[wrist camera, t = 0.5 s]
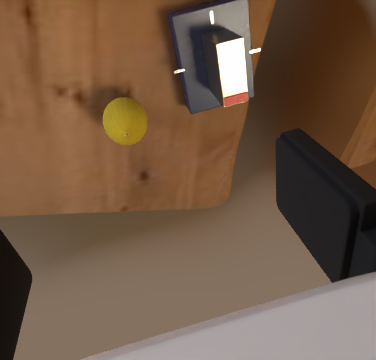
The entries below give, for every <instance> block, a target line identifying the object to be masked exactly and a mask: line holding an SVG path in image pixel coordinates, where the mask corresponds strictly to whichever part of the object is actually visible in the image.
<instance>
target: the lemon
mask: <svg viewBox="0 0 376 360" xmlns="http://www.w3.org/2000/svg"><path fill="white" fill-rule="evenodd" d="M147 124H148V120H147V114H146V112H145V110H144V108H143V107H142V105H141V104H140V103H138V102H137V101H136V100H134V99H132V98H128V97H120V98H117V99H114V100H113V101H111V102H110V103H109V104H108V105H107V107H106V109H105V110H104V114H103V126H104V129H105V131H106V133H107V135H108V136H109V137H110V138H111V139H112V140H113V141H114V142H116V143H118V144H121V145H132V144H134V143H137V142H138V141H139V140H141V139H142V137H143V136H144V135H145V132H146V130H147Z"/></svg>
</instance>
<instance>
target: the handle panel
mask: <svg viewBox="0 0 376 360" xmlns="http://www.w3.org/2000/svg"><path fill="white" fill-rule="evenodd" d="M167 14H168V19H169V24H170V29H171V34H172V39H173V43H174V48H175V53H176V58H177V63H178V68H179V69H178V70H175V71H173V72H174V74H176V73H180V78H181V82H182V87H183V92H184V97H185V102H186V106H187V108H188V110H189V111H190V113H191V114H194V113H197V112H201V111H204V110H208V109H212V108H215V107H219V106H222V105H221V103H220V102H219V101H218V100H217V99H216V97H215V96H214V95H213V94H212V93H211V91H210V88H209V82H208V75H207V68H206V62H205V55H204V49H203V42H202V36H201V34H203V33H207V32H211V31H214V30H218V29H222V28H227V29H229V30H231V31H233V32H234V33H236V34H238V35H240V36H242V37H244V49H245V62H246V74H247V87H248V98H252V97H254V85H253V69H252V54H251V53H255V52H259V51H260V48H258V49H254V50H251V39H250V24H249V9H248V0H218V1H214V2H210V3H206V4H202V5H198V6H194V7H190V8H186V9H182V10H178V11H174V12H170V13H167Z"/></svg>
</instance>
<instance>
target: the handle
mask: <svg viewBox="0 0 376 360" xmlns="http://www.w3.org/2000/svg"><path fill="white" fill-rule="evenodd" d="M201 36H202V42H203V49H204V55H205V62H206V68H207V75H208V82H209V88H210V91H211V93H212V94H213V95H214V96H215V97H216V99H217V100H218V101H219V102H220V103H221V105H222V106H223V107H224V108H225V107H228V106H232V105H236V104H239V103H243V102H247V101H248V87H247V74H246V62H245V49H244V37H242V36H240V35H238V34H236V33H234V32H233V31H231V30H229V29H227V28H222V29H218V30H214V31H211V32H207V33H203V34H201Z"/></svg>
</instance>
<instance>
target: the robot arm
mask: <svg viewBox="0 0 376 360" xmlns="http://www.w3.org/2000/svg"><path fill="white" fill-rule="evenodd" d="M276 201H277V206H278V208H279V210H280V212H281V213H282V214H283V216H284V217H285V219H286V220H287V221H288V223H289V224H290V225H291V227H292V228H293V229H294V231H295V232H296V234H297V235H298V236H299V238H300V239H301V240H302V242H303V243H304V245H305V246H306V247H307V249H308V250H309V251H310V253H311V254H312V256H313V257H314V258H315V260H316V261H317V263H318V264H319V265H320V267H321V268H322V269H323V271H324V272H325V273H326V275H327V276H328V278H329V279H330V280H331V282H332V283H330V284H327V285H324V286H320V287H316V288H313V289H309V290H306V291H302V292H299V293H295V294H292V295H289V296H286V297H282V298H279V299H276V300H272V301H269V302H266V303H262V304H259V305H256V306H253V307H249V308H246V309H243V310H239V311H236V312H232V313H229V314H226V315H223V316H219V317H216V318H213V319H209V320H206V321H203V322H200V323H196V324H193V325H190V326H187V327H183V328H180V329H177V330H173V331H170V332H167V333H164V334H160V335H158V336H154V337H151V338H147V339H144V340H141V341H138V342H135V343H131V344H128V345H125V346H122V347H118V348H115V349H112V350H109V351H105V352H102V353H99V354H96V355H92V356H89V357H86V358H83V359H80V360H376V189H375V188H373V187H372V186H371V185H370V184H368V183H367V182H366V181H365V180H363V179H362V178H361V177H360V176H358V175H357V174H356V173H354V172H353V171H352V170H351V169H350V168H349V167H347V166H346V165H345V164H344V163H342V162H341V161H340V160H339V159H337V158H336V157H335V156H334V155H332V154H331V153H330V152H329V151H327V150H326V149H325V148H323V147H322V146H321V145H320V144H319V143H317V142H316V141H315V140H314V139H312V138H311V137H310V136H309V135H307V134H306V133H305V132H304V131H303V130H301V129H299V128H297V129H293V130H290V131H286V132H282V133H281V135H280V138H277V139H276ZM31 283H32V274H31V271H30V270H29V268H28V267H27V266H26V264H25V263H24V261H23V260H22V259H21V257H20V256H19V255H18V253H17V252H16V250H15V249H14V248H13V246H12V245H11V243H10V242H9V241H8V239H7V238H6V236H5V235H4V234H3V232H2V231H1V230H0V360H13V357H14V353H15V349H16V345H17V341H18V337H19V333H20V329H21V324H22V320H23V316H24V312H25V308H26V303H27V300H28V295H29V291H30V287H31Z"/></svg>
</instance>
